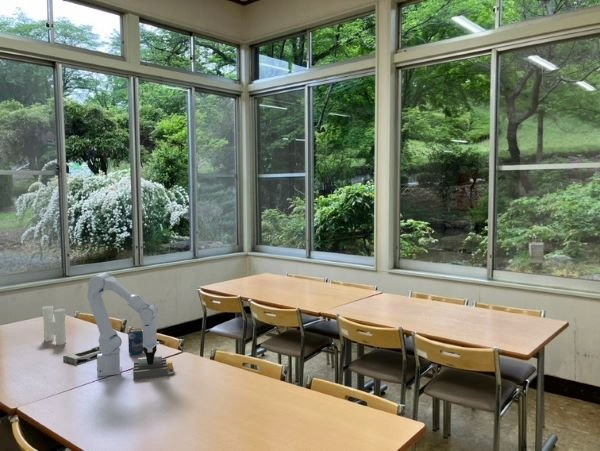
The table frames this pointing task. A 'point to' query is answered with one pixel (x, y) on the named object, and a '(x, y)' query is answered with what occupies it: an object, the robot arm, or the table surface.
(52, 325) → the binoculars
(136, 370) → the rack
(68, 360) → the graphics card
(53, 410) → the table surface
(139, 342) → the soda can
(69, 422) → the table surface
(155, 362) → the panel
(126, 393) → the table surface
